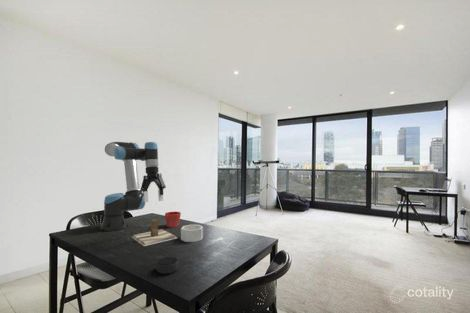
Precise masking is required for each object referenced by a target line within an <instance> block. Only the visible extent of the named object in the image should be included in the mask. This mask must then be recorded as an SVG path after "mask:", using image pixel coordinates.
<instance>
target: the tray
mask: <svg viewBox="0 0 470 313" xmlns="http://www.w3.org/2000/svg"><path fill="white" fill-rule="evenodd" d="M131 238H132V239H133V240H134V241H136V242H137V243H139V244H140V245H142V246H143V247H147V246H151V245H156V244H159V243H163V242H167V241H172V240H176V239H178V237H177V236H176V237H175V238H173V239H169V240H165V241H161V242H157V243H152V244H148V245H144V244H142V243H141V242H140V241H138V240H137V239H135V238H134V236H131Z"/></svg>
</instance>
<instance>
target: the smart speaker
mask: <svg viewBox="0 0 470 313" xmlns="http://www.w3.org/2000/svg"><path fill="white" fill-rule="evenodd" d="M178 269H179V260H178V258H177V257H174V256H165V257H162V258H160V259H158V260H157V262H156V272H157V273H159V274H162V275H168V274H173V273H174V272H175V273H176V271H178Z"/></svg>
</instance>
